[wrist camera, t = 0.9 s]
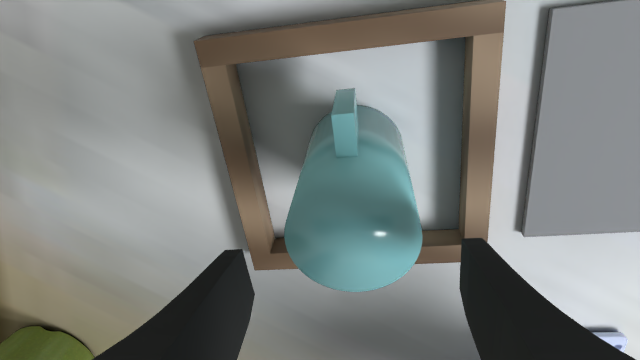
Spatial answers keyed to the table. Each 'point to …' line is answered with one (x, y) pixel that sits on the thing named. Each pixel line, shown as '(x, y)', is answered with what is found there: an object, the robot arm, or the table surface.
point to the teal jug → (354, 202)
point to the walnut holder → (352, 34)
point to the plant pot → (42, 346)
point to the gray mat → (587, 124)
